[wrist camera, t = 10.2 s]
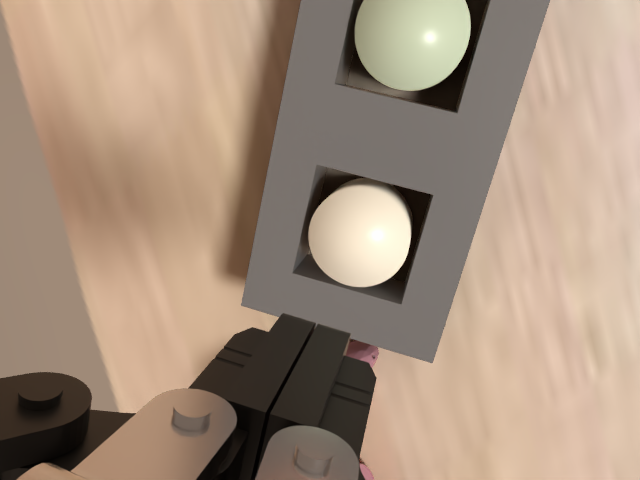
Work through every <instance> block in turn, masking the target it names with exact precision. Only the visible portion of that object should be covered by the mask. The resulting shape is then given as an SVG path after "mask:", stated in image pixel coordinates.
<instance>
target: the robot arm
mask: <svg viewBox="0 0 640 480" xmlns="http://www.w3.org/2000/svg"><path fill="white" fill-rule="evenodd" d="M350 337H351V333H349V332H346V331H343V330H339V329H336V328H333V327H329V326H326V325H322V324H319V323H318V324H317V326H316V323H315V322H312V321H309V320H305V319H302V318H299V317H295V316H292V315H289V314H285V313H282V314H281V316H280V317H279V319H278V320H277V321H276V323H275V324H274V326H273V327H272V328H271V330H270V331H269V332H266V331H263V330H260V329H256V328H253V327H252V328H250V329H247V330H245V331H242V332H240V333H237V334H235V335H234V336H233V337H232V338H231V339H230V340H229V342H228V343H227V344H226V345H225V346H224V349H222V350H221V351H220V352H219V353H218V354H217V356H216V358H215V359H213V360H212V361H211V363H210V364H209V365H208V366H207V367H206V368H205V370H204V371H203V372H202V373H201V374H200V375H199V377H198V378H197V379H196V380H195V381H194V382H193V384H192V385H191V386H190V387H189V388H188V389H175V390H171V391H167V392H164V393H162V394H160V395H158V396H156V397H155V398H153V399H152V400H151V401H150V402H149V403H147V404H146V405H145V406H144V407H143V408H142V409H141V410H140V411H138V412H137V413H119V412H108V411H98V410H90V409H91V400H92V396H91V392H90V390H89V388H88V387H87V385H85V384H84V383H83V382H82V381H80V380H78V379H77V378H74V377H72V376H69V375H65V374H60V373H50V372H40V373H39V372H38V373H29V374H24V375H17V376H12V377H6V378H0V480H365V478H364V476H363V474H362V472H361V469H360V464H359V457H360V451H361V447H362V442H363V438H364V433H365V428H366V424H367V419H368V415H369V410H370V405H371V401H372V395H373V392H374V387H375V382H376V376H375V374H374V372H373V370H372V368H371V366H370V364H369V363H368V362H365V361H361V360H358V359H355V358H352V357H348V356H346V352H347V349H348V345H349V341H350Z"/></svg>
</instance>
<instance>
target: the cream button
mask: <svg viewBox="0 0 640 480" xmlns="http://www.w3.org/2000/svg"><path fill="white" fill-rule="evenodd" d="M412 228H413V219H412V213H411V210H410V207H409V205H408V203H407V201H406V199H405V198H404V196H403V195H402V194H401V193H400V192H399V191H398V190H397V189H396V188H395V187H393V186H392V185H390V184H388V183H386V182H382V181H378V180H374V179H370V178H359V179H354V180H351V181H348V182H346V183H344V184H342V185H341V186H339V187H338V188H337V189H336V190H335V191H334V192H333V193H332V194H331V195H329V196H328V197H327V198H326V199H325V200H324V201H323V202H322V203H321V204H320V206H319V207H318V208H317V209H316V211H315V213H314V215H313V217H312V219H311V222H310V226H309V233H308V239H309V246H310V250H311V253H312V255H313V258H314V259H315V261H316V263H317V264H318V266H319V267H320V268H321V269H322V271H323V272H324V273H326V274H327V275H328V276H329V277H331V278H332V279H334V280H335V281H337V282H339V283H342V284H345V285H348V286H353V287H368V286H373V285H377V284H380V283H382V282H384V281H386V280H388V279H389V278H391V277H392V276H393V275H394V274H395V273H396V272H397V271H398V270H399V269H400V268H401V266H402V265H403V263H404V261H405V259H406V257H407V254H408V250H409V246H410V240H411V235H412Z"/></svg>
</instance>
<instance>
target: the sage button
mask: <svg viewBox="0 0 640 480" xmlns="http://www.w3.org/2000/svg"><path fill="white" fill-rule="evenodd" d="M470 30H471V21H470V14H469V10H468V6H467V3H466V1H465V0H364V1H363V3H362V4H361V7H360V9H359V11H358V15H357V18H356V24H355V44H356V49H357V52H358V55H359V58H360V60H361V62H362V64H363V65H364V67H365V68H366V70H367V71H368V72H369V73H370V74H371V75H372V76H373V77H374V78H375V79H376V80H378V81H379V82H381V83H382V84H384V85H386V86H388V87H391V88H394V89H398V90H404V91H417V90H423V89H427V88H430V87H433V86H435V85H437V84H438V83H440V82H441V81H443V80H444V79H446V78H447V77H448V76H449V75H450V74H451V73H452V72H453V70H454V69H455V68H456V67H457V65H458V64H459V62H460V61H461V59H462V57H463V55H464V53H465V51H466V49H467V46H468V42H469V38H470Z"/></svg>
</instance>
